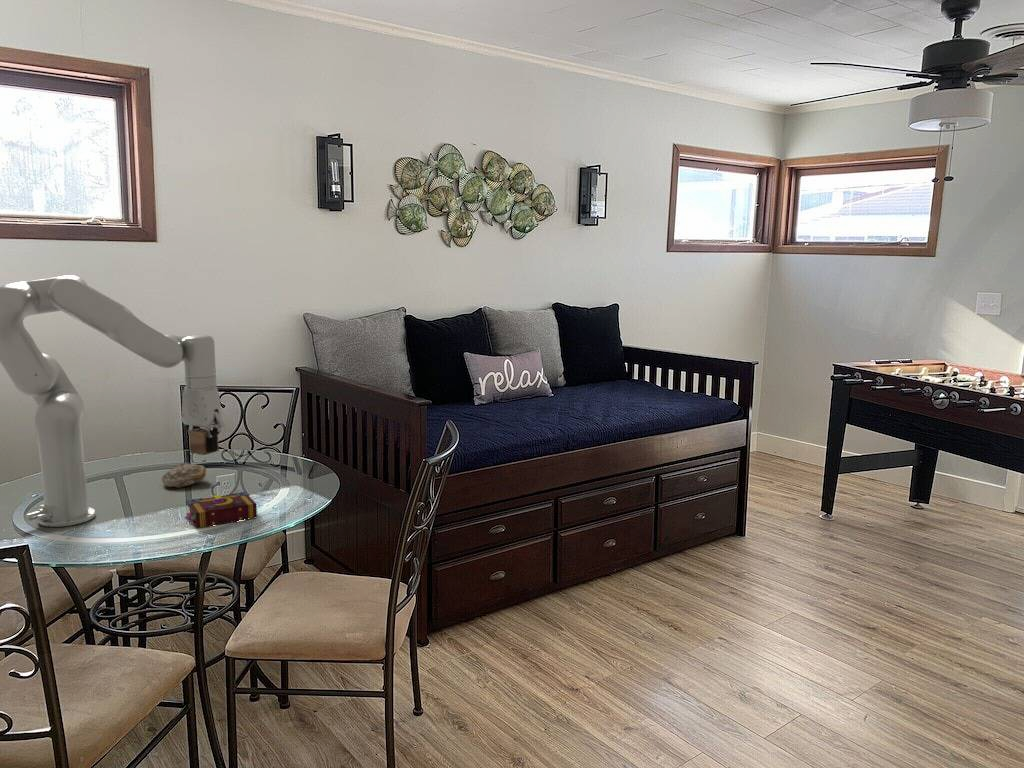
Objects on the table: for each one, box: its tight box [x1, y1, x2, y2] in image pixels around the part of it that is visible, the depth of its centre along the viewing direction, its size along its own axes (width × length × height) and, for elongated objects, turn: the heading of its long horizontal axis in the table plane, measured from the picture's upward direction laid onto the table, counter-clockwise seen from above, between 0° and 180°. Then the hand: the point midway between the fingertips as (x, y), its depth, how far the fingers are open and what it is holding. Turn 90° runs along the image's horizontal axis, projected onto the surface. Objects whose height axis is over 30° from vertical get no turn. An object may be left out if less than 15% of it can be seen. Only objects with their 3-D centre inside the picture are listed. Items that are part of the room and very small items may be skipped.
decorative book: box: [184, 491, 258, 529], centre depth 202 cm, size 11×16×5 cm
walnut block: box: [188, 427, 220, 456], centre depth 209 cm, size 5×5×6 cm
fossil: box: [161, 461, 207, 489], centre depth 229 cm, size 12×8×10 cm
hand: (204, 449), depth 209 cm, fingers closed on walnut block, 5 cm apart
